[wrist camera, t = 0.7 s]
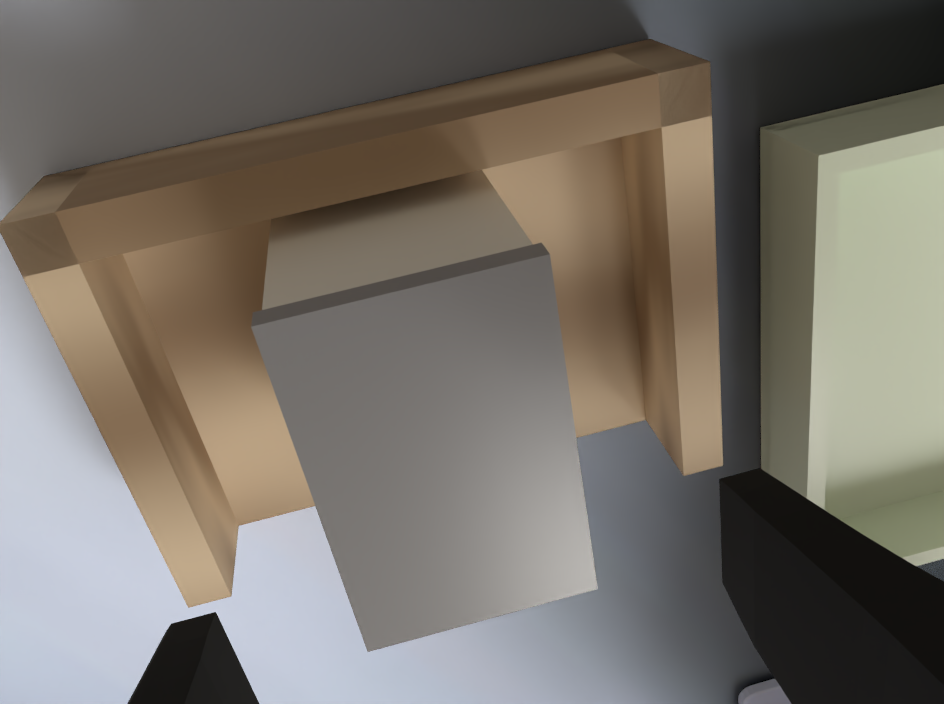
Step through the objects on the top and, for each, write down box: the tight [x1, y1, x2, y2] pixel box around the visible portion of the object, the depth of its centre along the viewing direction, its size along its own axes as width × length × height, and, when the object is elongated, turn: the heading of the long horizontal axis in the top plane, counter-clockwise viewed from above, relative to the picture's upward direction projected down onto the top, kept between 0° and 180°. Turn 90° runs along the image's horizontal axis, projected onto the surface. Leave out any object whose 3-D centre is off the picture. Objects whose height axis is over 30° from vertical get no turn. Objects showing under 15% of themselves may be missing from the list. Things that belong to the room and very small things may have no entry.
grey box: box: [251, 170, 598, 652], centre depth 17 cm, size 8×5×6 cm, turn 10°
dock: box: [0, 39, 723, 608], centre depth 18 cm, size 10×13×3 cm
